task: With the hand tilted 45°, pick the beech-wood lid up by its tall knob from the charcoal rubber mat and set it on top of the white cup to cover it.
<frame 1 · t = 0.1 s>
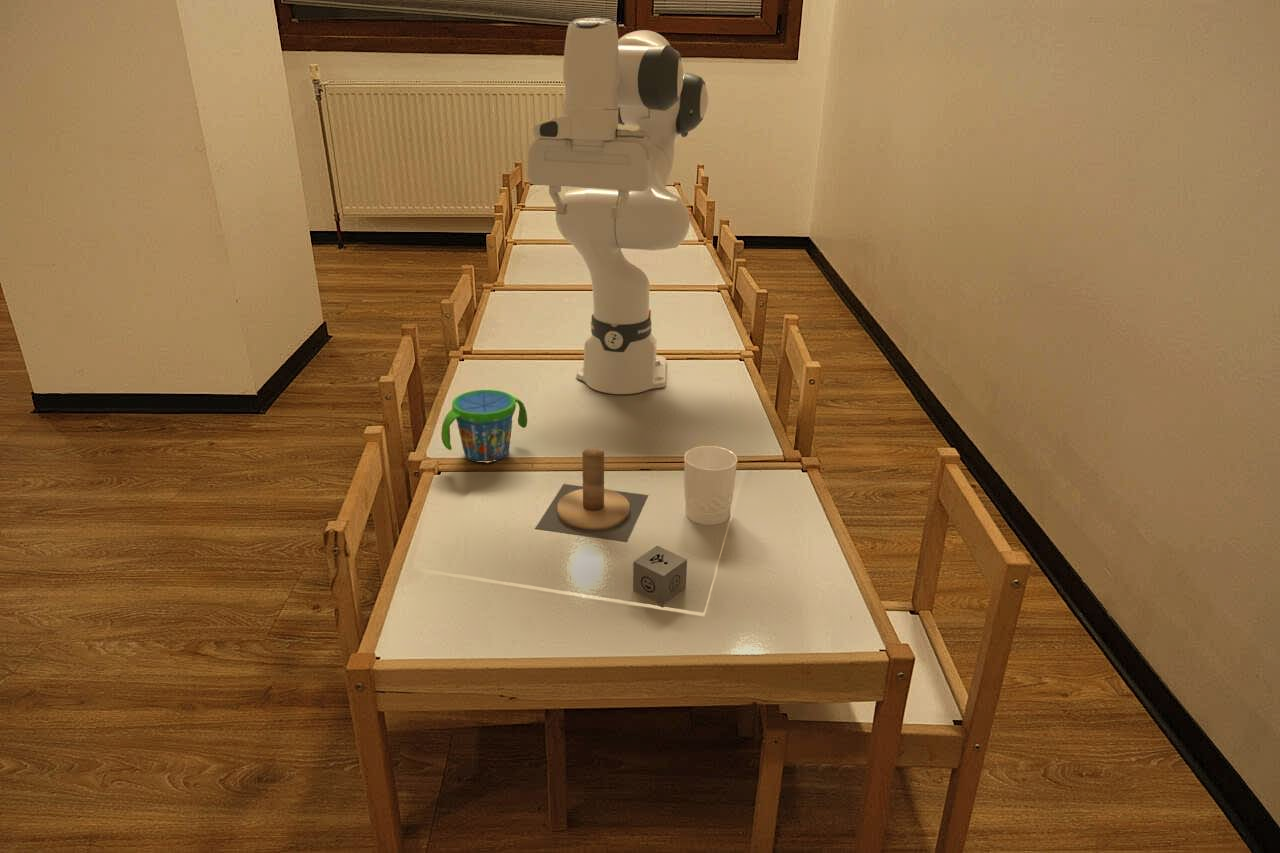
hand: (588, 216, 148), 39 cm above the table, tool pointing down, fingers open, 8 cm apart
snack cup: (487, 456, 154), on the table
lid: (593, 511, 137), resting on mat
dice cube: (659, 593, 120), on the table
mat: (593, 513, 137), on the table
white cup: (707, 516, 138), on the table
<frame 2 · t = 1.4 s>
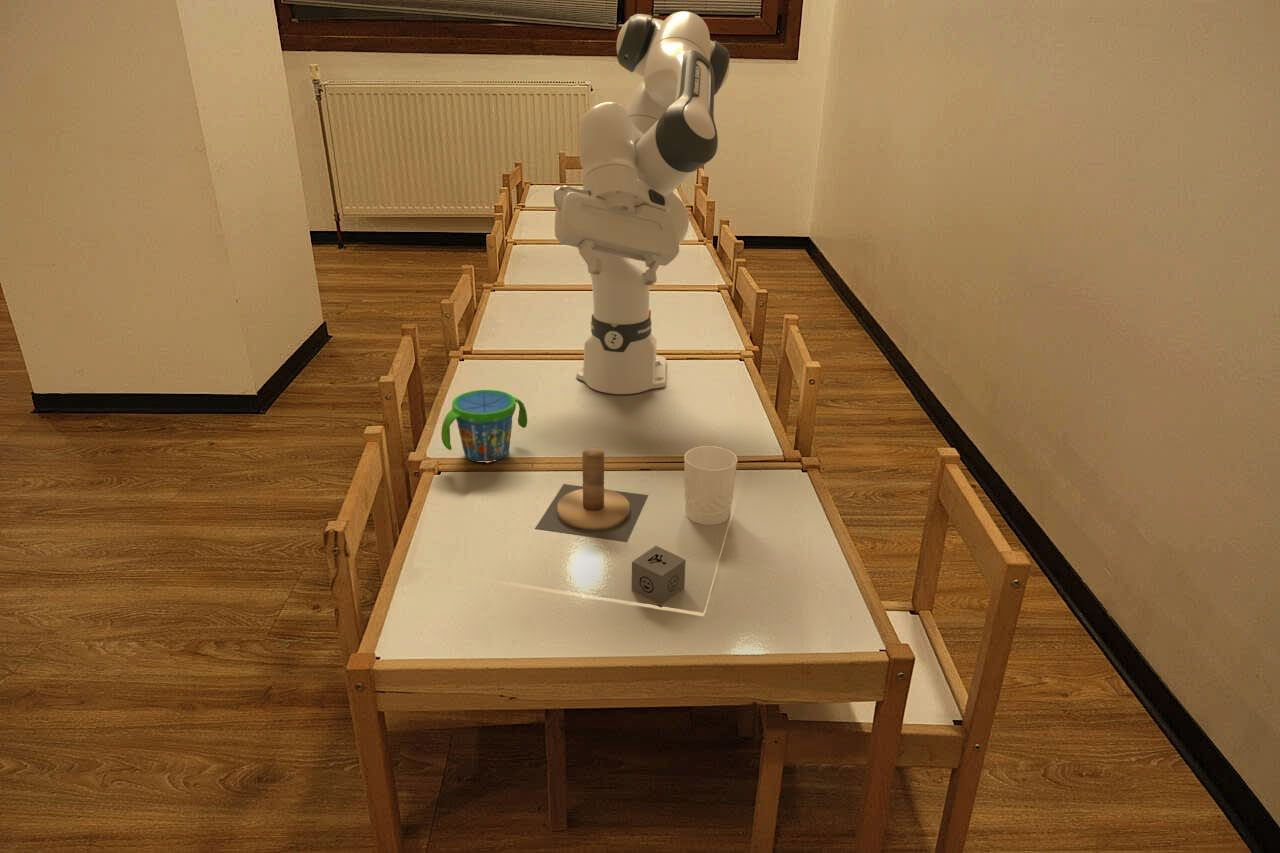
hand: (623, 278, 133), 34 cm above the table, tool tilted 45°, fingers open, 8 cm apart
nothing on the table moved.
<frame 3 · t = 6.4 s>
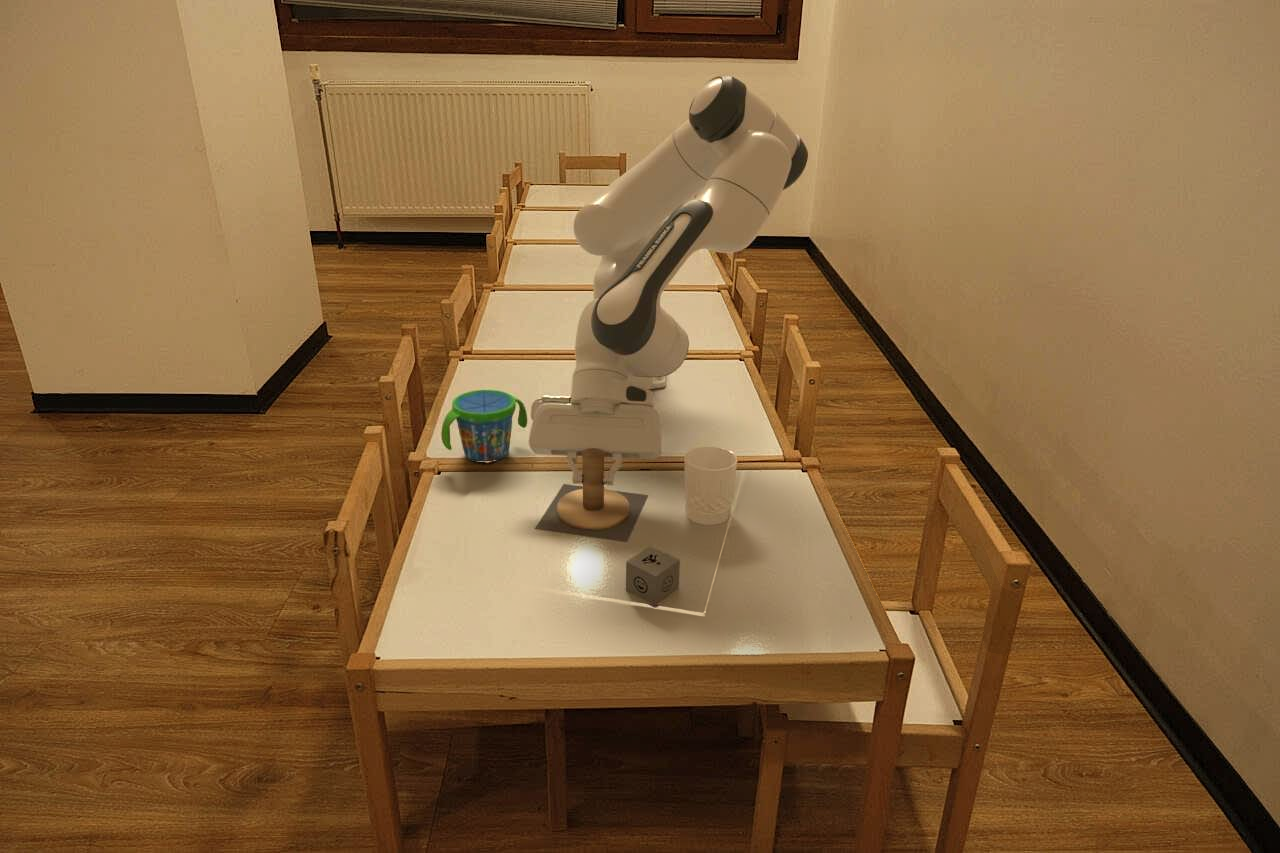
hand: (592, 483, 134), 6 cm above the table, tool tilted 45°, fingers closed on lid, 3 cm apart
lid: (593, 511, 137), resting on mat, touching gripper
when the fingers open (17 cm above the table, at t = 10.2 s): lid drops 2 cm, resting on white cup.
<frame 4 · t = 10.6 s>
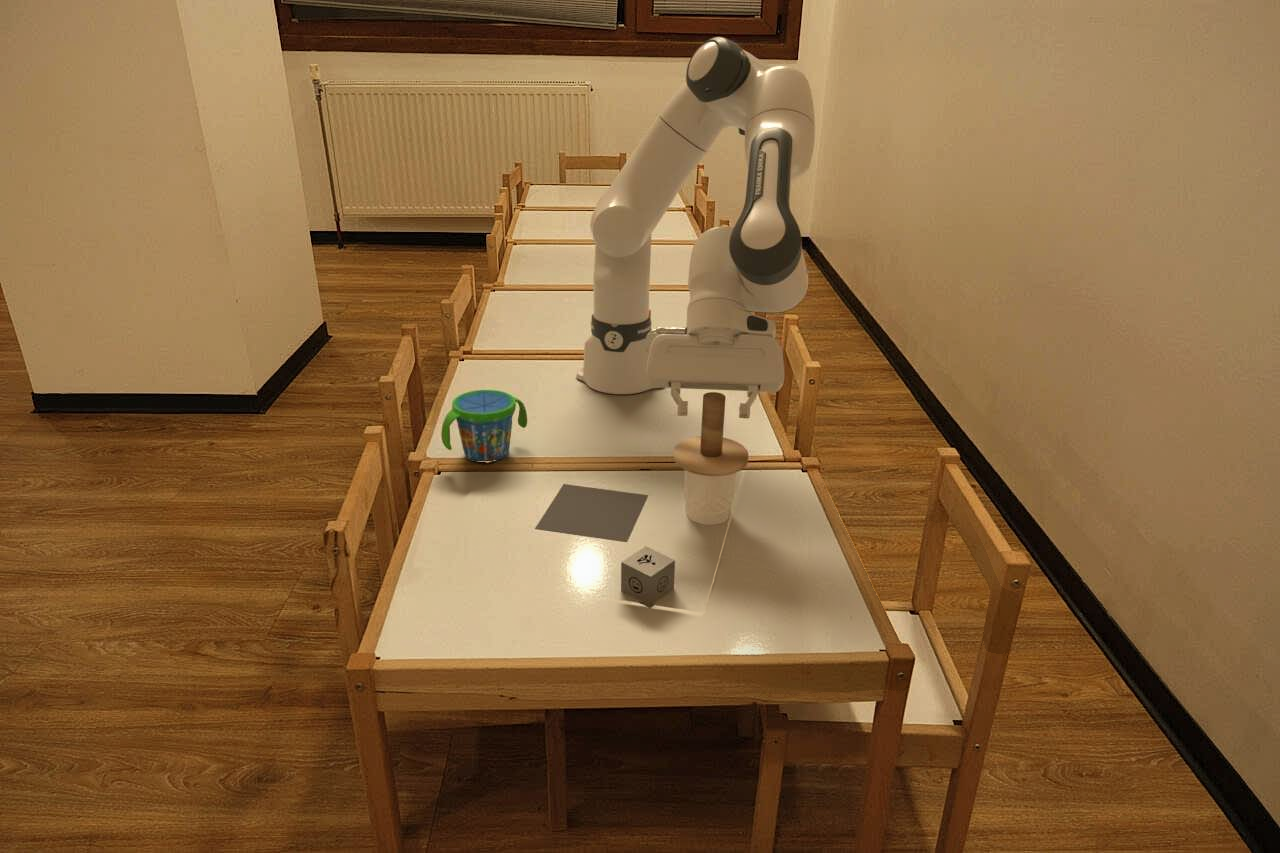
hand: (713, 415, 130), 17 cm above the table, tool tilted 45°, fingers open, 8 cm apart
lid: (710, 458, 133), point 10 cm above the table, touching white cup
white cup: (707, 516, 138), on the table, touching lid
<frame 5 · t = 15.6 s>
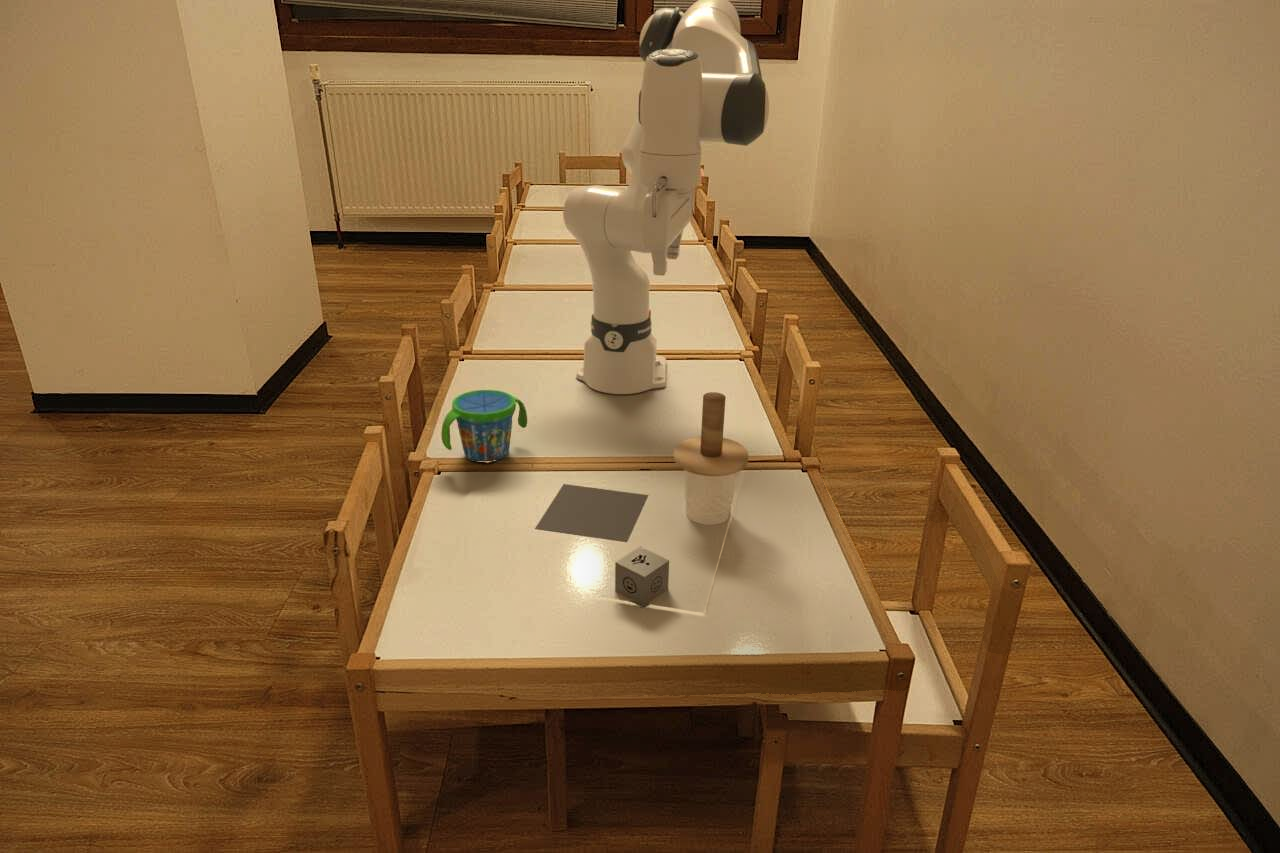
hand: (666, 266, 135), 35 cm above the table, tool pointing down, fingers open, 8 cm apart
at the end: lid 0.3 cm from the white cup (horizontally); lid point 9.9 cm above the table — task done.
